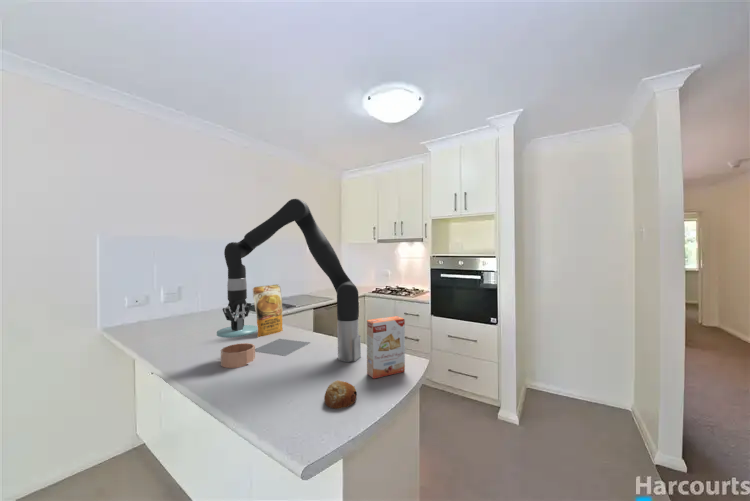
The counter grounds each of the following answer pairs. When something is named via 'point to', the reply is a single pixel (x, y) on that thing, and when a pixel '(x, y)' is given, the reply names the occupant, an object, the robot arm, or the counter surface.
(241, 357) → the bowl
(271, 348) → the mat
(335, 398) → the bread roll
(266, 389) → the counter surface
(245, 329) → the lid
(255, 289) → the pancake mix bag
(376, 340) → the cracker box
